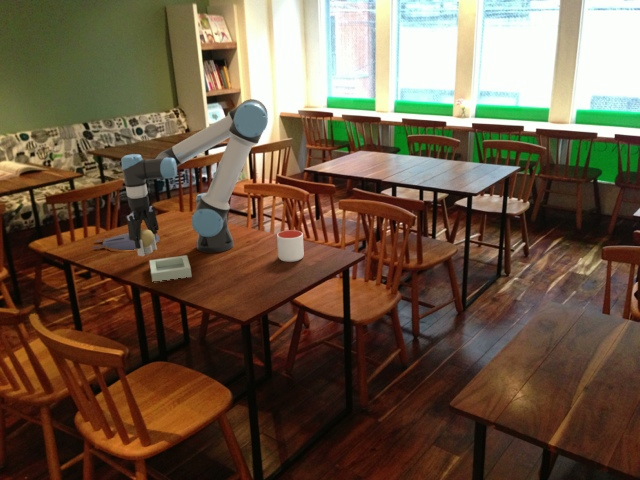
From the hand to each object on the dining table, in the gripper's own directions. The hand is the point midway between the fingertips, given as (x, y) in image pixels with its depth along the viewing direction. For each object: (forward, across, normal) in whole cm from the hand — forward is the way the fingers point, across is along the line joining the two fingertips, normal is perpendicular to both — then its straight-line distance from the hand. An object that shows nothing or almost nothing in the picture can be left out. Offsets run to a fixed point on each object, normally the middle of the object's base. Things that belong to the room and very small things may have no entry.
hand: (147, 252), depth 230 cm
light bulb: (+1, 0, 0) cm, 1 cm away
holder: (+4, +5, +16) cm, 17 cm away
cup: (+6, -25, +50) cm, 56 cm away
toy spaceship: (+4, -14, -25) cm, 29 cm away
